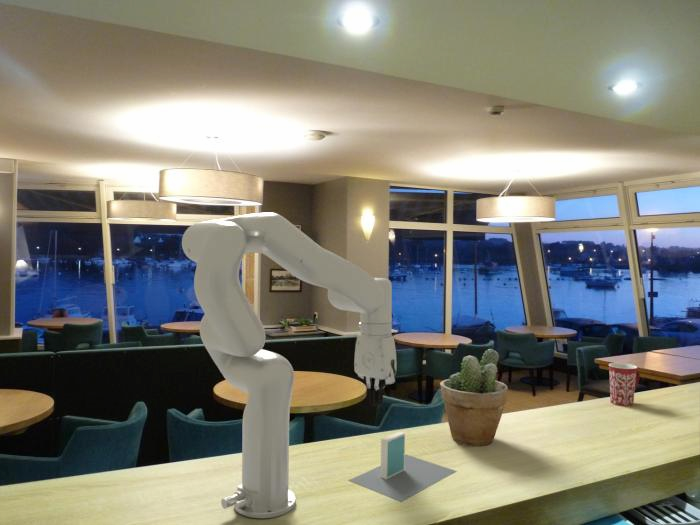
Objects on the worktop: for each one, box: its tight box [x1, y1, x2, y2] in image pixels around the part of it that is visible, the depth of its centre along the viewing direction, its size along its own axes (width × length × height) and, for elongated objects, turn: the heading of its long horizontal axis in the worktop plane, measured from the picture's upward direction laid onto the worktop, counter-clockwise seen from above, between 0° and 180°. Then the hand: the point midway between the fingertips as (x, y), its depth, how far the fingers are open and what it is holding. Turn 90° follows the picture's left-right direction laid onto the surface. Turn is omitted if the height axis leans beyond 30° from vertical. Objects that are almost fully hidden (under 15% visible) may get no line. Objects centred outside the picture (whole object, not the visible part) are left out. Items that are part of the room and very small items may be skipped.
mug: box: [608, 362, 640, 407], centre depth 193 cm, size 13×9×14 cm
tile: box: [380, 431, 406, 479], centre depth 128 cm, size 7×2×9 cm, turn 138°
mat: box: [348, 454, 457, 503], centre depth 127 cm, size 22×15×1 cm
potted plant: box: [439, 348, 509, 447], centre depth 153 cm, size 18×19×25 cm
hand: (376, 404), depth 132 cm, fingers closed
